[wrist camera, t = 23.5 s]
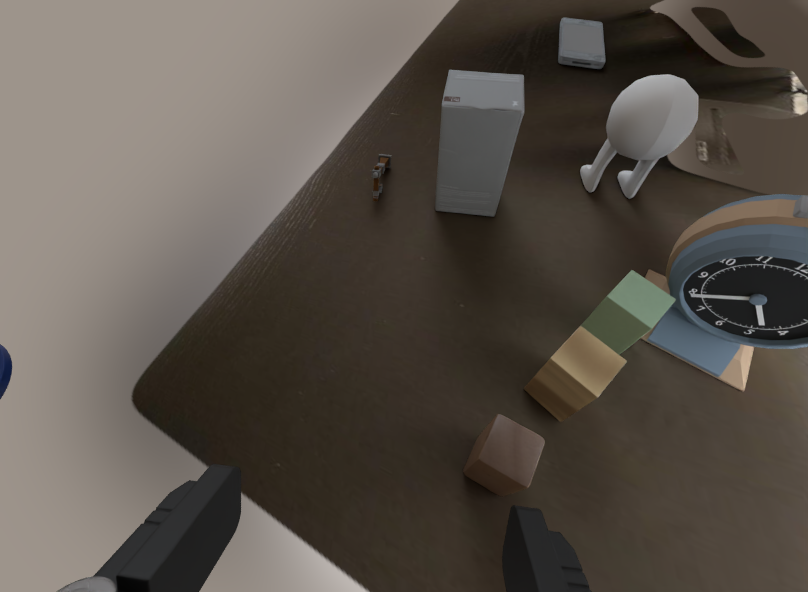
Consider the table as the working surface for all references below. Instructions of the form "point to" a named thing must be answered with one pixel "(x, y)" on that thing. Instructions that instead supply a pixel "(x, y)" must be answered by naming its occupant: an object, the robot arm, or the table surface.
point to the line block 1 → (575, 374)
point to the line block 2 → (628, 312)
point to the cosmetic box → (477, 139)
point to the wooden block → (504, 457)
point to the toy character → (645, 128)
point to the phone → (581, 43)
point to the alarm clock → (737, 286)
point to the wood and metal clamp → (376, 173)
